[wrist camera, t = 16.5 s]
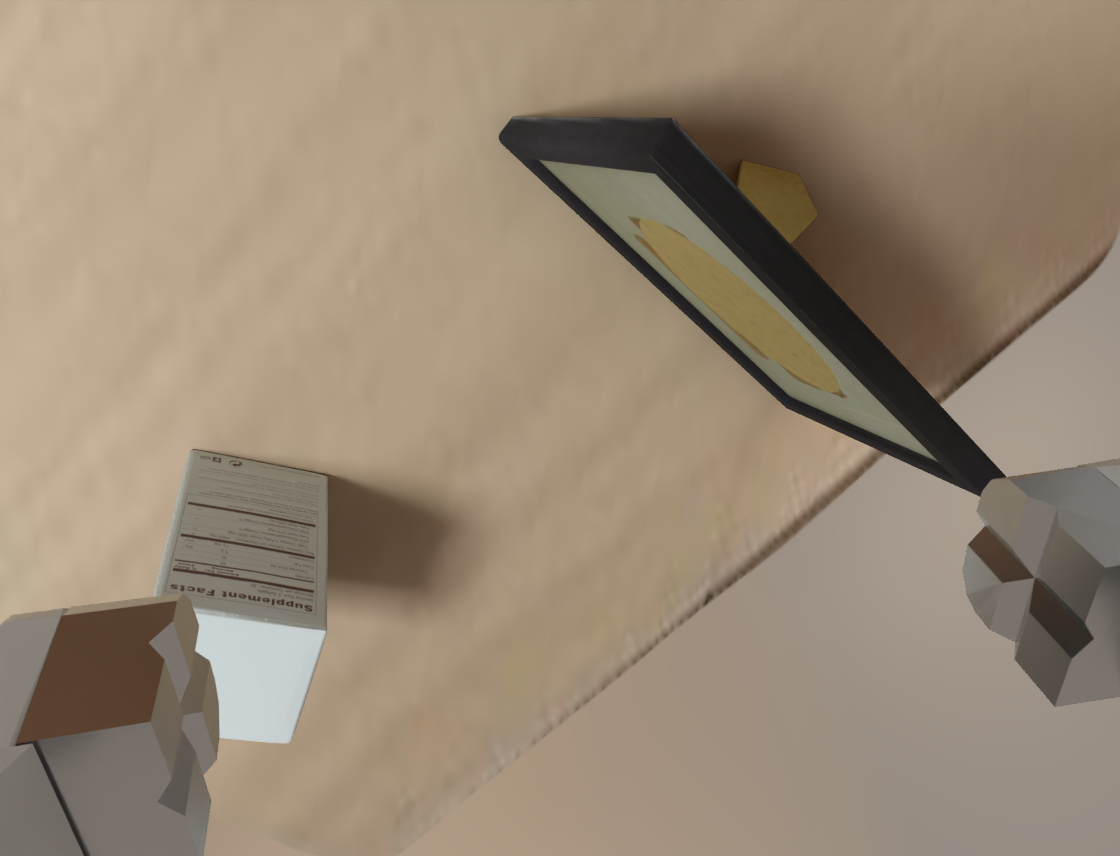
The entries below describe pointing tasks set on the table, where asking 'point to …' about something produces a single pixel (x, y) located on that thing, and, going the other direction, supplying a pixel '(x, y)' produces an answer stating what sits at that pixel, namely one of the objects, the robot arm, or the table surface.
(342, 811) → the table surface
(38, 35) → the table surface
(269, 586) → the supplement box
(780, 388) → the picture frame
